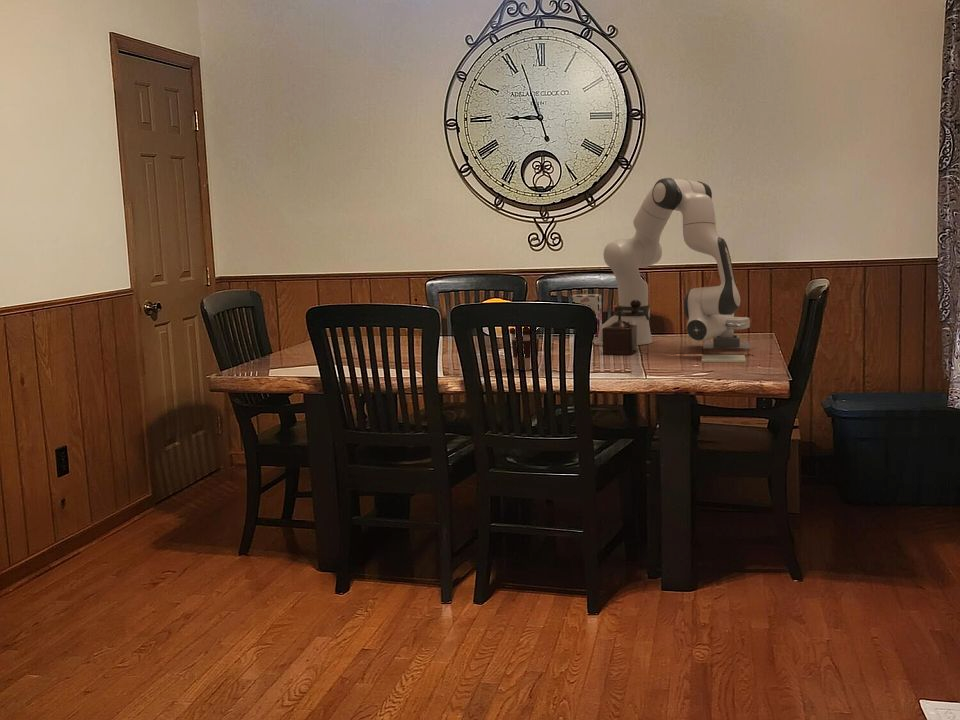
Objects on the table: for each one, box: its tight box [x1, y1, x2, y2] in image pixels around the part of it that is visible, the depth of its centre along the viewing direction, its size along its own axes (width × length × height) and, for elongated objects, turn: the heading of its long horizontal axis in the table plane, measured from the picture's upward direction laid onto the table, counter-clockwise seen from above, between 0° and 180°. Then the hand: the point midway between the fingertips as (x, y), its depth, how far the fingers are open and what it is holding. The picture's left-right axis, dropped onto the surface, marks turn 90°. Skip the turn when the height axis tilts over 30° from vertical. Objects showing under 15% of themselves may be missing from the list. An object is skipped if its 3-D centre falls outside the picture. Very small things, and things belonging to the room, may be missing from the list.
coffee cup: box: [509, 327, 541, 371], centre depth 342 cm, size 10×10×15 cm
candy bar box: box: [571, 293, 603, 337], centre depth 417 cm, size 11×5×16 cm, turn 71°
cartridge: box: [719, 312, 735, 338], centre depth 373 cm, size 5×5×15 cm
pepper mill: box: [602, 300, 641, 356], centre depth 372 cm, size 16×11×18 cm
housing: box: [702, 334, 751, 350], centre depth 374 cm, size 16×16×4 cm
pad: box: [701, 353, 746, 363], centre depth 351 cm, size 14×14×1 cm
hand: (727, 319), depth 374 cm, fingers open, 8 cm apart
